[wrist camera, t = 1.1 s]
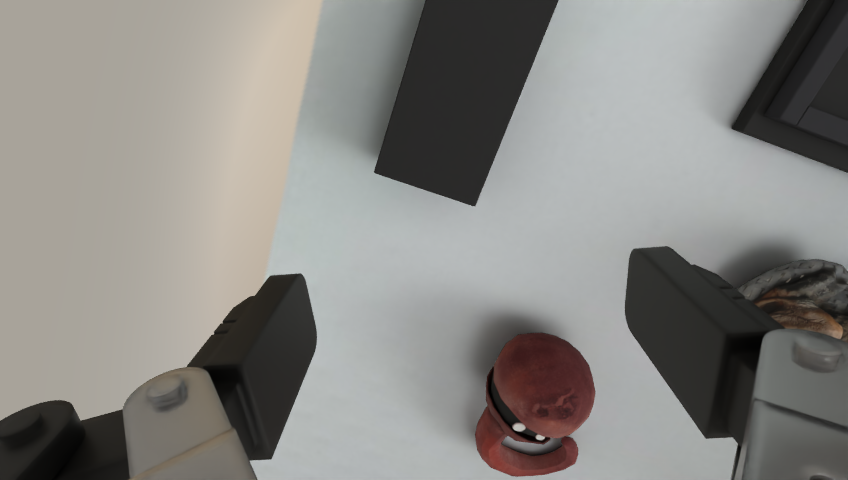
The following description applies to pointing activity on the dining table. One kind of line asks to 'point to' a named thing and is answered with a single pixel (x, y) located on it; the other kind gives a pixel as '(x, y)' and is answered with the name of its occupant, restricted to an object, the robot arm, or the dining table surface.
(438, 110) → the strip pad
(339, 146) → the dining table surface
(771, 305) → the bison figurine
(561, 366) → the hook toy
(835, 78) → the dock pad
